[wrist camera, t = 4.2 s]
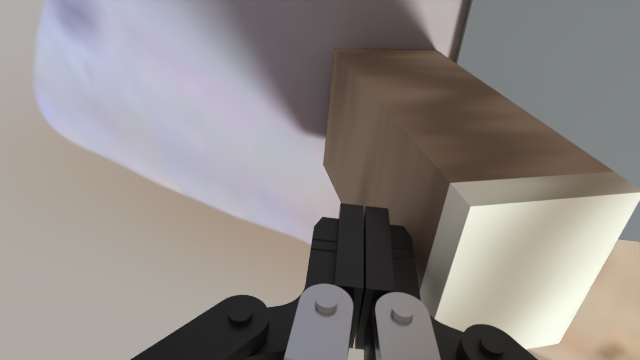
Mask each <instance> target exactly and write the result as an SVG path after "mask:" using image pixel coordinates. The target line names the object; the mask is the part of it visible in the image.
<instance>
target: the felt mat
mask: <svg viewBox="0 0 640 360" xmlns="http://www.w3.org/2000/svg"><path fill="white" fill-rule="evenodd" d="M455 63H456V64H458V65H459V66H461V67H462V68H463V69H465V70H466V71H468V72H469V73H471V74H472V75H474V76H475V77H477V78H478V79H480V80H481V81H483V82H484V83H485V84H487V85H488V86H490V87H491V88H493V89H494V90H496V91H497V92H499V93H500V94H502V95H503V96H504V97H506V98H507V99H509V100H510V101H512V102H513V103H515V104H516V105H518V106H519V107H521V108H522V109H524V110H525V111H526V112H528V113H529V114H531V115H532V116H534V117H535V118H537V119H538V120H540V121H541V122H543V123H544V124H546V125H547V126H548V127H550V128H551V129H553V130H554V131H556V132H557V133H559V134H560V135H562V136H563V137H565V138H566V139H567V140H569V141H570V142H572V143H573V144H575V145H576V146H578V147H579V148H581V149H582V150H584V151H585V152H587V153H588V154H589V155H591V156H592V157H594V158H595V159H597V160H598V161H600V162H601V163H603V164H604V165H606V166H607V167H608V168H610V169H611V170H613V171H614V172H616V173H617V174H619V175H620V176H622V177H623V178H625V179H626V180H628V181H629V182H630V183H632V184H633V185H635V186H636V187H638V188H639V189H640V0H470V4H469V8H468V12H467V16H466V20H465V24H464V28H463V32H462V36H461V41H460V45H459V49H458V53H457V57H456V61H455ZM618 239H621V240H630V241H639V242H640V201H639V202H638V204H637V206H636V208H635V209H634V211H633V213H632V215H631V216H630V218H629V220H628V222H627V224H626V225H625V227H624V229H623V231H622V232H621V234H620V236H619V238H618Z"/></svg>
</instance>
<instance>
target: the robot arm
mask: <svg viewBox="0 0 640 360" xmlns="http://www.w3.org/2000/svg"><path fill="white" fill-rule="evenodd" d="M354 338H355V348H356V349H363V350H364V360H537V359H536V358H535V357H534V356H533V355H532V354H530V353H529V352H528V351H527V350H526V349H525V348H523V347H522V346H521V345H520V344H519V343H518V342H516V341H515V340H514V339H513V338H512V337H511V336H510V335H508V334H507V333H506V332H504V331H502V330H501V329H499V328H497V327H494V326H491V325H487V324H475V325H472V326H470V327H468V328H467V329H466V330H465V331H464V332H462V331H460V330H457V329H454V328H452V327H449V326H447V325H445V324H442V323H440V322H439V321H437V320H436V319H434V318H433V317H432V316H431V315H430V314H429V312H428V310H427V308H426V306H425V305H424V304H423V303H422V302H421V298H420V292H419V285H418V278H417V271H416V264H415V257H414V252H413V243H412V237H411V236H410V234H409V233H408V232H407V230H406V229H405V227H404V226H398V225H390V221H389V210H388V208H381V207H372V206H365V207H363V206H362V205H353V204H344V203H341V204H340V211H339V219H335V218H326V217H322V218H321V219H320V220H319V222H318V223H317V224H316V225H315V226H314V231H313V238H312V245H311V252H310V258H309V265H308V271H307V278H306V285H305V289H304V291H303V292H302V294H301V295H300V296H299V297H298V298H297V299H296V300H294V301H293V302H290V303H288V304H285V305H282V306H275V307H269V308H267V307H266V305H265V304H264V303H263V302H262V301H261V300H259V299H257V298H255V297H253V296H248V295H236V296H232V297H229V298H227V299H225V300H223V301H221V302H220V303H218V304H217V305H215V306H214V307H212V308H210V309H209V310H207V311H206V312H204V313H203V314H201V315H200V316H198V317H196V318H195V319H193V320H192V321H190V322H189V323H187V324H185V325H184V326H182V327H181V328H179V329H178V330H176V331H175V332H173V333H171V334H170V335H168V336H167V337H165V338H164V339H162V340H160V341H159V342H157V343H156V344H155V345H153V346H151V347H150V348H148V349H146V350H145V351H143V352H142V353H140V354H139V355H137V356H135V357H134V358H132V359H131V360H347V357H348V351H349V348H353V343H354Z"/></svg>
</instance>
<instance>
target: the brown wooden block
mask: <svg viewBox="0 0 640 360" xmlns="http://www.w3.org/2000/svg"><path fill="white" fill-rule="evenodd" d="M323 165H324V167H325V169H326V171H327V173H328V176H329V178H330V180H331V182H332V184H333V186H334V188H335V191H336V193H337V195H338V197H339V199H340V201H341V203H344V204H353V205H362V206H363V207H365V206H372V207H381V208H388V210H389V221H390V225H398V226H404V227H405V229H406V230H407V232H408V233H409V234H410V236H411V237H412V243H413V252H414V257H415V264H416V271H417V278H418V285H419V292H420V298H421V302H422V303H423V304H424V305H425V306H426V308H427V310H428V312H429V314H430V315H431V316H432V317H433V318H434V319H436V320H437V321H439V322H440V323H442V324H445V325H447V326H449V327H452V328H454V329H457V330H460V331H462V332H464V331H465V330H466V329H467V328H468V327H470V326H472V325H475V324H487V325H491V326H494V327H497V328H499V329H501V330H502V331H504V332H506V333H507V334H508V335H510V336H511V337H512V338H513V339H514V340H515V341H516V342H518V343H519V344H520V345H521V346H522V347H523V348H525V349H530V348H536V347H541V346H547V345H553V344H559V342H560V341H561V339H562V337H563V335H564V333H565V332H566V330H567V328H568V326H569V325H570V323H571V321H572V319H573V317H574V316H575V314H576V312H577V310H578V309H579V307H580V305H581V303H582V302H583V300H584V298H585V296H586V294H587V293H588V291H589V289H590V287H591V286H592V284H593V282H594V280H595V279H596V277H597V275H598V273H599V271H600V270H601V268H602V266H603V264H604V263H605V261H606V259H607V257H608V255H609V254H610V252H611V250H612V248H613V247H614V245H615V243H616V241H617V240H618V238H619V236H620V234H621V232H622V231H623V229H624V227H625V225H626V224H627V222H628V220H629V218H630V216H631V215H632V213H633V211H634V209H635V208H636V206H637V204H638V202H639V201H640V189H639V188H638V187H636V186H635V185H633V184H632V183H630V182H629V181H628V180H626V179H625V178H623V177H622V176H620V175H619V174H617V173H616V172H614V171H613V170H611V169H610V168H608V167H607V166H606V165H604V164H603V163H601V162H600V161H598V160H597V159H595V158H594V157H592V156H591V155H589V154H588V153H587V152H585V151H584V150H582V149H581V148H579V147H578V146H576V145H575V144H573V143H572V142H570V141H569V140H567V139H566V138H565V137H563V136H562V135H560V134H559V133H557V132H556V131H554V130H553V129H551V128H550V127H548V126H547V125H546V124H544V123H543V122H541V121H540V120H538V119H537V118H535V117H534V116H532V115H531V114H529V113H528V112H526V111H525V110H524V109H522V108H521V107H519V106H518V105H516V104H515V103H513V102H512V101H510V100H509V99H507V98H506V97H504V96H503V95H502V94H500V93H499V92H497V91H496V90H494V89H493V88H491V87H490V86H488V85H487V84H485V83H484V82H483V81H481V80H480V79H478V78H477V77H475V76H474V75H472V74H471V73H469V72H468V71H466V70H465V69H463V68H462V67H461V66H459V65H458V64H456V63H455V62H453V61H452V60H450V59H449V58H447V57H446V56H444V55H443V54H442V53H440V52H439V51H437V50H393V49H334V59H333V70H332V80H331V90H330V101H329V111H328V121H327V132H326V142H325V152H324V163H323Z"/></svg>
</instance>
